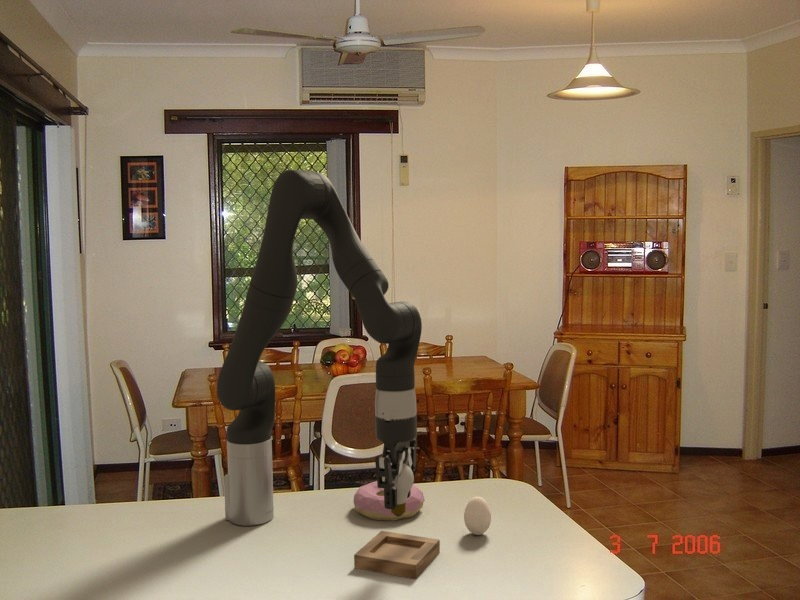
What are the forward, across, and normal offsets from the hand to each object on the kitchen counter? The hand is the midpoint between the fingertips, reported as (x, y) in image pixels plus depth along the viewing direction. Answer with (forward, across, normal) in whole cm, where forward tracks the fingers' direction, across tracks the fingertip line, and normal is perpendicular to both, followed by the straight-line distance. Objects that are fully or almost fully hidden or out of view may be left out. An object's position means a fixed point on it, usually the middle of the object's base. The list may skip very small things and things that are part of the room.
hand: (397, 502), depth 147 cm
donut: (+11, -23, -12) cm, 28 cm away
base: (+11, 0, 0) cm, 11 cm away
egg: (+11, -17, +10) cm, 23 cm away
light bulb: (+3, 0, 0) cm, 3 cm away
